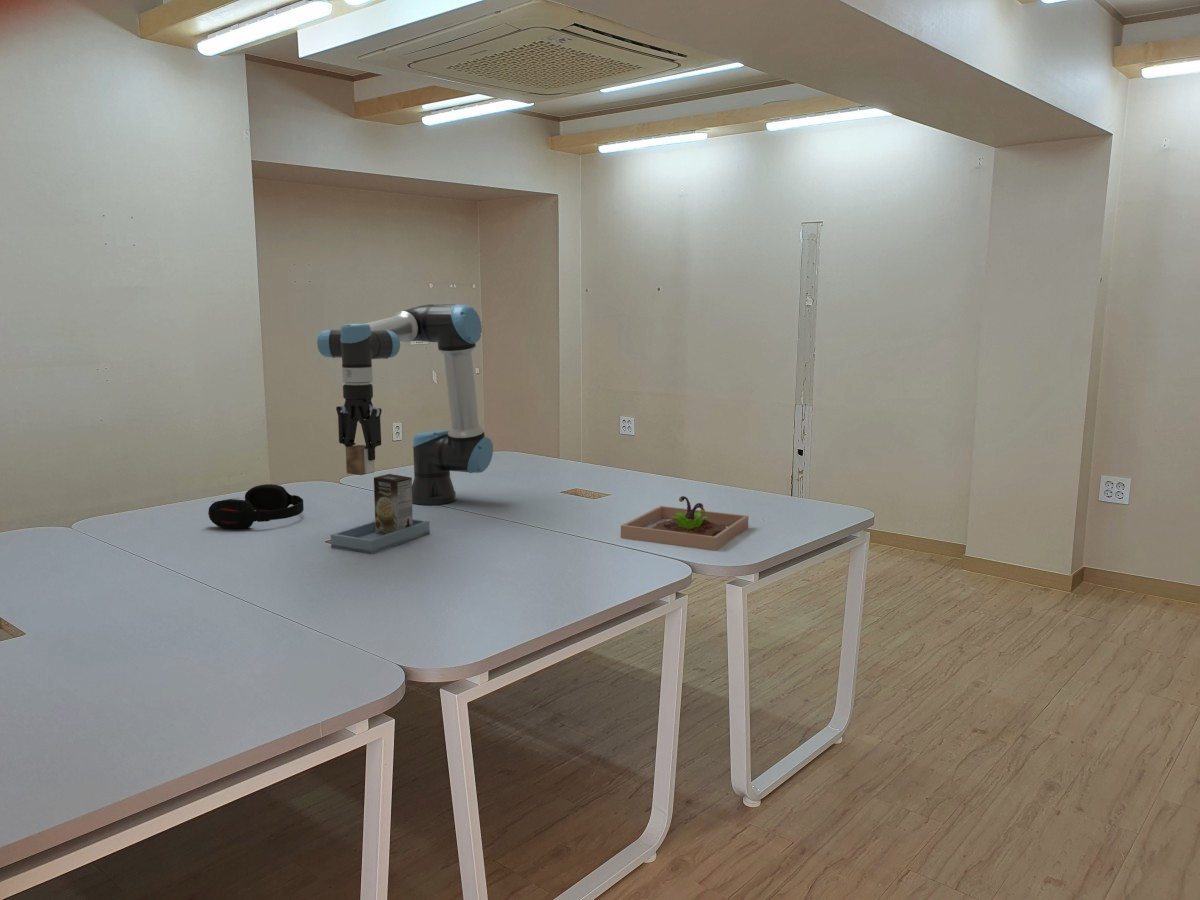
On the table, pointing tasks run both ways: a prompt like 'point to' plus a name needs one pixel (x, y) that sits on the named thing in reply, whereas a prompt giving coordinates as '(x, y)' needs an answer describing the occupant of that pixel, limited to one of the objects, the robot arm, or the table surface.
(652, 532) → the plant saucer
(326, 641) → the table surface
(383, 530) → the coffee box
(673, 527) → the plant
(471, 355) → the robot arm
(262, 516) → the headset
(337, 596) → the table surface
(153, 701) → the table surface
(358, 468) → the walnut block
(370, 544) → the tray
